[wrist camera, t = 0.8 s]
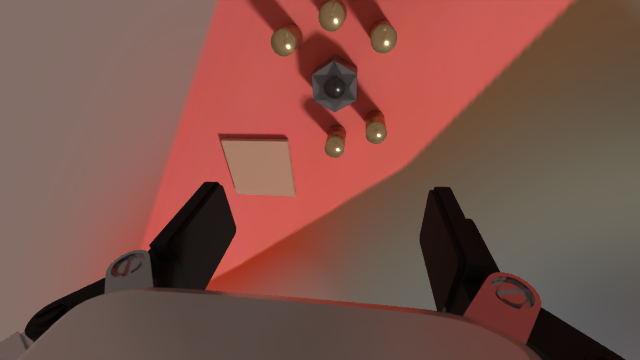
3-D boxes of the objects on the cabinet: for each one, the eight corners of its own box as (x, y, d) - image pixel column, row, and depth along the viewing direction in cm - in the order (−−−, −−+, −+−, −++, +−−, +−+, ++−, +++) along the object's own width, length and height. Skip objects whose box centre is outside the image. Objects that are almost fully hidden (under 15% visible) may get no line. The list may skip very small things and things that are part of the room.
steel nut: (314, 55, 31) (310, 61, 28) (357, 54, 30) (357, 60, 28) (317, 103, 34) (314, 112, 32) (356, 103, 33) (356, 112, 31)
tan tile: (223, 138, 39) (220, 140, 38) (288, 139, 38) (287, 141, 37) (238, 190, 45) (237, 193, 44) (296, 193, 43) (295, 196, 43)
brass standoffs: (277, 2, 28) (265, 4, 24) (396, -5, 26) (401, -4, 23) (294, 140, 38) (287, 156, 34) (382, 141, 36) (384, 158, 32)
